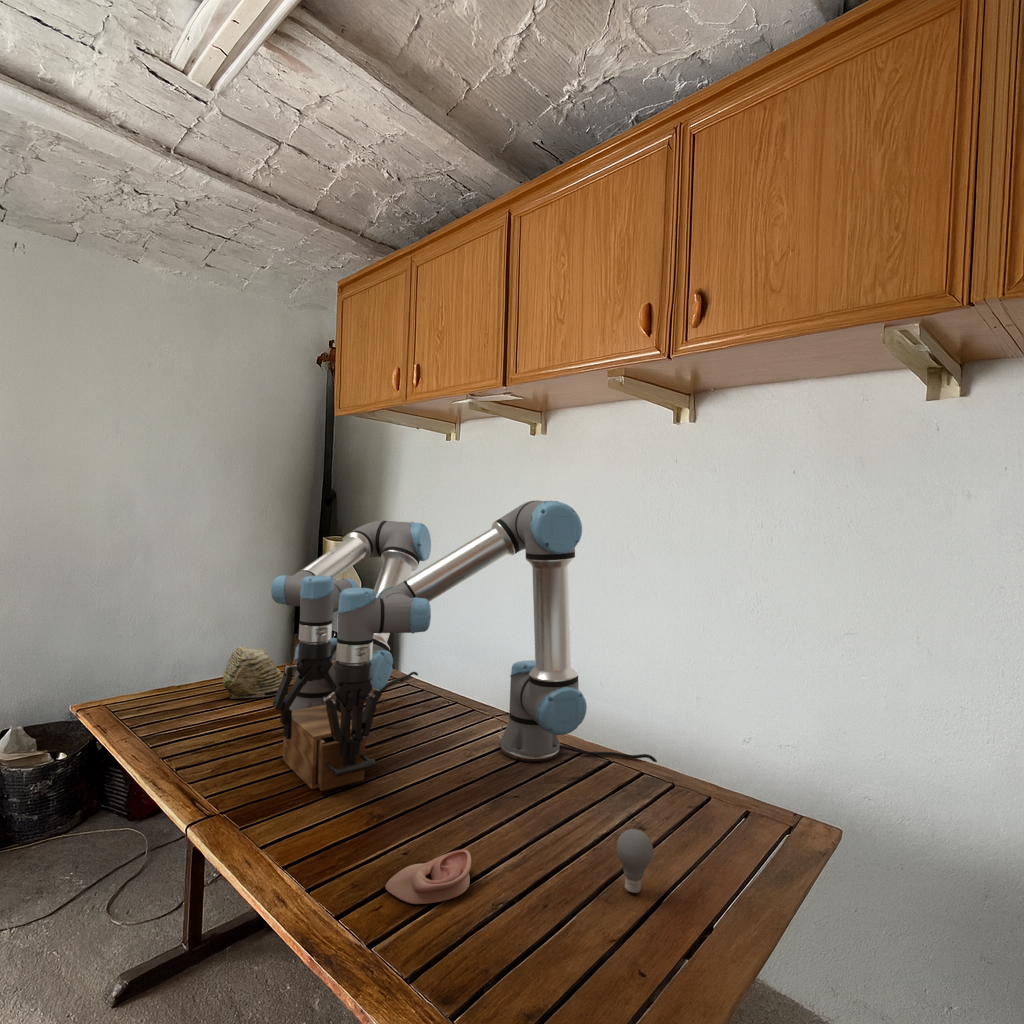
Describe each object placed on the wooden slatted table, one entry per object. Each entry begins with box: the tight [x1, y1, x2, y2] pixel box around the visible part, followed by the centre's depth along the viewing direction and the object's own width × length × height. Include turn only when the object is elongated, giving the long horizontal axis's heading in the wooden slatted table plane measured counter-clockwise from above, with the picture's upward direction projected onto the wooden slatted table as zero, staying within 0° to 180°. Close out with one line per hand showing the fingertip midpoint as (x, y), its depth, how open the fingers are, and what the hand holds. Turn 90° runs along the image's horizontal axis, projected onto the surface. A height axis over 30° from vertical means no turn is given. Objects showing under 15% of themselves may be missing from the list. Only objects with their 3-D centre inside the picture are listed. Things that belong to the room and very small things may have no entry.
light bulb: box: [615, 828, 654, 894], centre depth 106 cm, size 6×6×10 cm
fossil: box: [222, 646, 284, 699], centre depth 198 cm, size 9×18×15 cm, turn 132°
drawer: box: [316, 732, 377, 792], centre depth 142 cm, size 23×10×10 cm, turn 39°
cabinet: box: [282, 705, 352, 790], centre depth 147 cm, size 18×11×12 cm, turn 39°
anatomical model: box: [385, 849, 472, 905], centre depth 105 cm, size 13×4×12 cm
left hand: (311, 732), depth 152 cm, fingers closed on cabinet, 11 cm apart
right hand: (349, 770), depth 135 cm, fingers closed
